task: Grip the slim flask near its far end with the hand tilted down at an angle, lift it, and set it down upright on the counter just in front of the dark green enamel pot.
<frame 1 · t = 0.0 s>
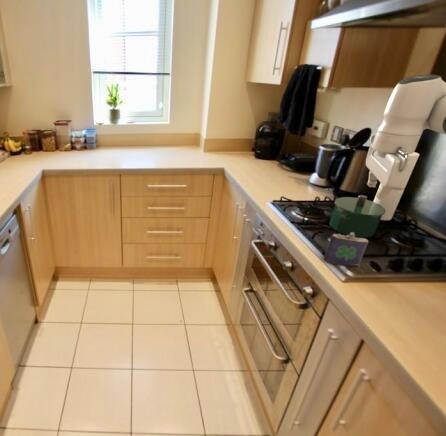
hand: (375, 192, 89), 22 cm above the worktop, tool pointing down, fingers open, 8 cm apart
pot lid: (359, 206, 111), point 8 cm above the worktop, touching pot
cylindrical container: (379, 216, 122), on the worktop
pot: (351, 227, 115), on the worktop
flask: (340, 263, 96), on the worktop
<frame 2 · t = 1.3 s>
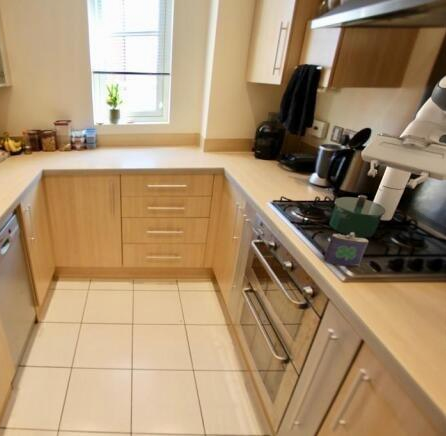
hand: (389, 180, 88), 25 cm above the worktop, tool tilted 45°, fingers open, 8 cm apart
nothing on the worktop moved.
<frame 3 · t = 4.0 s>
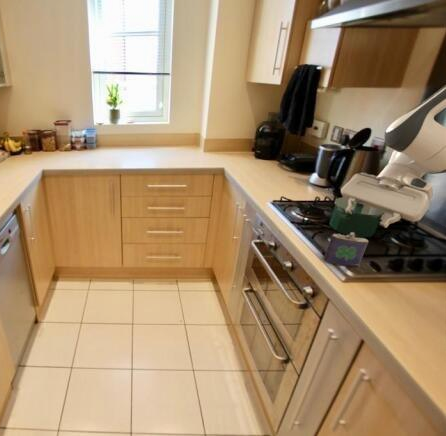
hand: (364, 219, 91), 14 cm above the worktop, tool tilted 45°, fingers open, 8 cm apart
nothing on the worktop moved.
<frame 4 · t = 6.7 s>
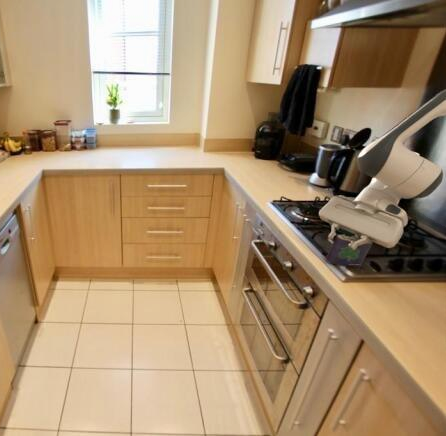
hand: (340, 243, 91), 8 cm above the worktop, tool tilted 45°, fingers closed on flask, 4 cm apart
flask: (342, 263, 96), on the worktop, touching gripper
everything else where it was.
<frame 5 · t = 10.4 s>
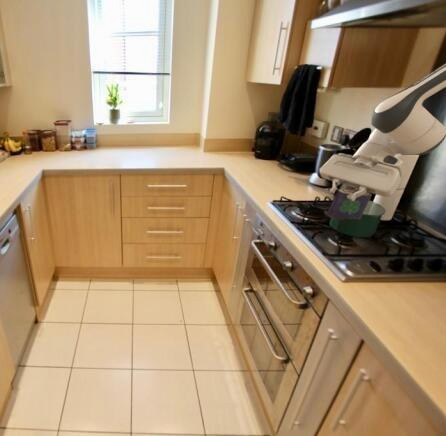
hand: (340, 196, 95), 18 cm above the worktop, tool tilted 45°, fingers closed on flask, 4 cm apart
flask: (343, 217, 100), point 10 cm above the worktop, touching gripper
everything else where it was.
when the fingers open (8 cm above the worktop, at t = 14.0 s): flask stays where it is, on the worktop.
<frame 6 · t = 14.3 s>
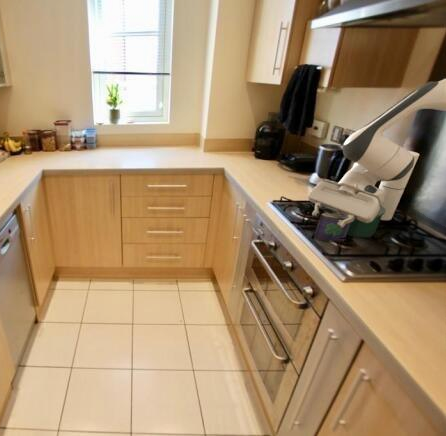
hand: (326, 220, 104), 8 cm above the worktop, tool tilted 45°, fingers open, 7 cm apart
flask: (328, 239, 108), on the worktop
everything else where it was.
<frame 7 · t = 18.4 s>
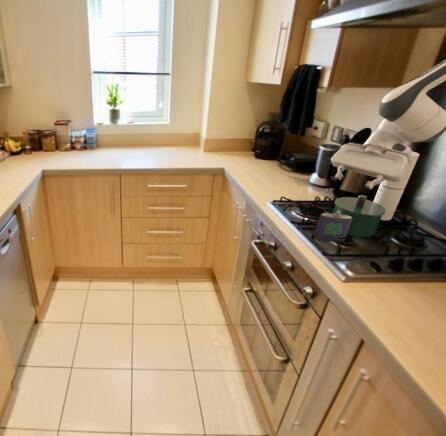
hand: (352, 182, 101), 20 cm above the worktop, tool tilted 45°, fingers open, 8 cm apart
nothing on the worktop moved.
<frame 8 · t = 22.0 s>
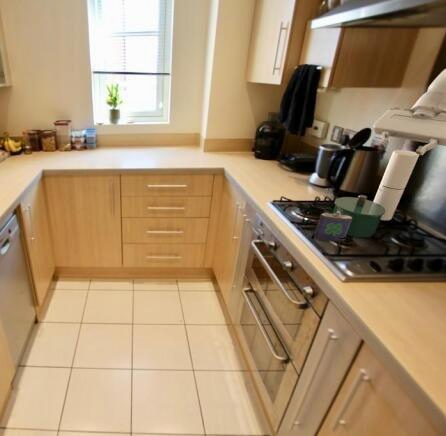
hand: (399, 149, 92), 31 cm above the worktop, tool tilted 45°, fingers open, 8 cm apart
nothing on the worktop moved.
at the end: flask inside the target area on the worktop beside the pot (0.9 cm from its centre), on the worktop; flask tilted 0°; the gripper is holding nothing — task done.
